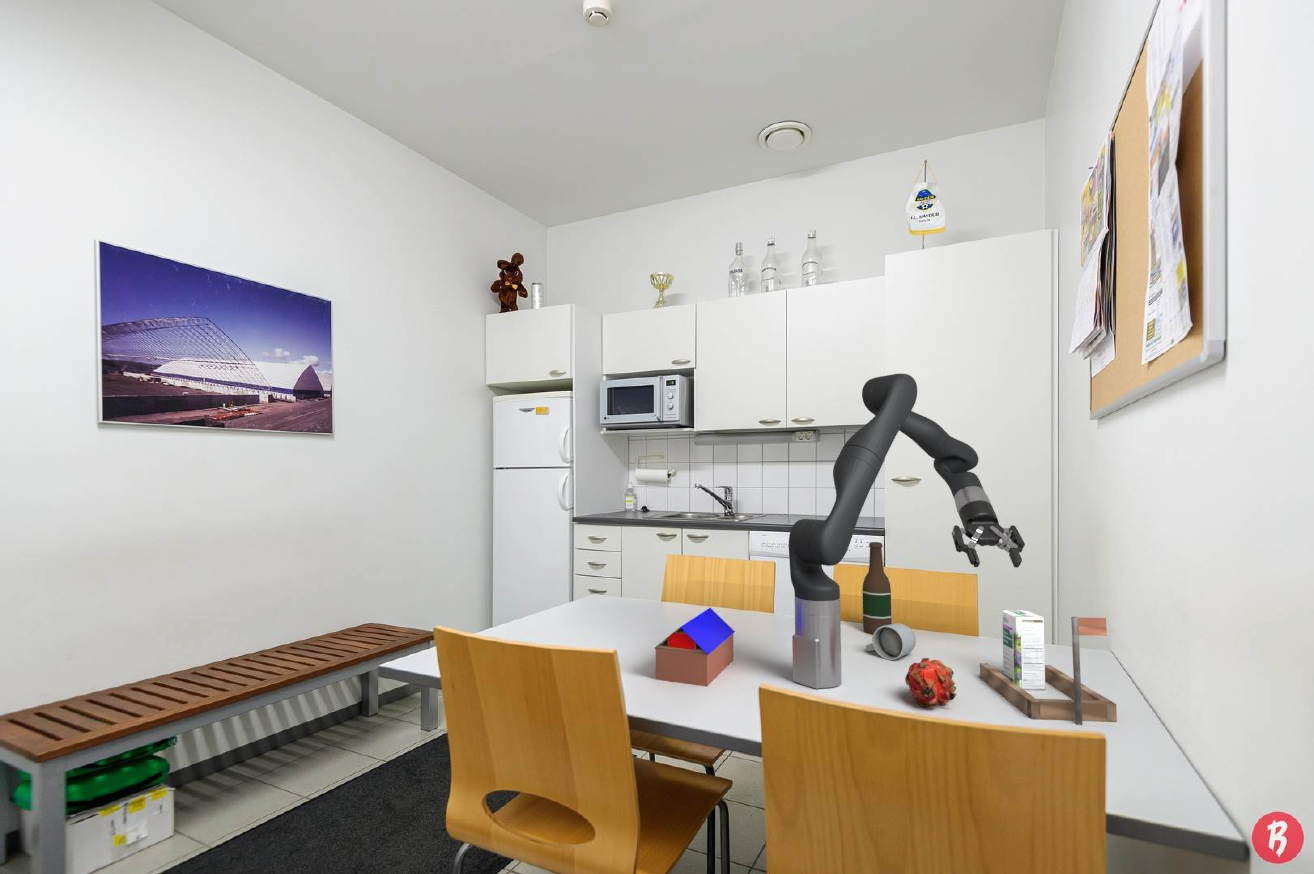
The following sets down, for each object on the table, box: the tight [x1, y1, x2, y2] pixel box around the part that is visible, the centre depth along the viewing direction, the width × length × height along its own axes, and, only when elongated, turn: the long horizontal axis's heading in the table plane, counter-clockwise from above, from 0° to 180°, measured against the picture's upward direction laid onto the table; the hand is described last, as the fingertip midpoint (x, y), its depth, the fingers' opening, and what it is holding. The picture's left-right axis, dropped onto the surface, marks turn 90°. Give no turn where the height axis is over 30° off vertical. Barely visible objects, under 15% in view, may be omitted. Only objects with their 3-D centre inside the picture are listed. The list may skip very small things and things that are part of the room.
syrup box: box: [1001, 609, 1046, 691], centre depth 128 cm, size 6×6×14 cm
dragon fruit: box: [904, 657, 957, 708], centre depth 118 cm, size 8×8×12 cm
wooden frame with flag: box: [979, 616, 1118, 726], centre depth 120 cm, size 24×14×18 cm, turn 174°
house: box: [654, 607, 736, 687], centre depth 139 cm, size 12×20×12 cm, turn 157°
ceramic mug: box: [865, 622, 917, 661], centre depth 149 cm, size 11×8×8 cm
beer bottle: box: [862, 541, 893, 636], centre depth 170 cm, size 8×8×24 cm
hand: (997, 565), depth 139 cm, fingers open, 8 cm apart
